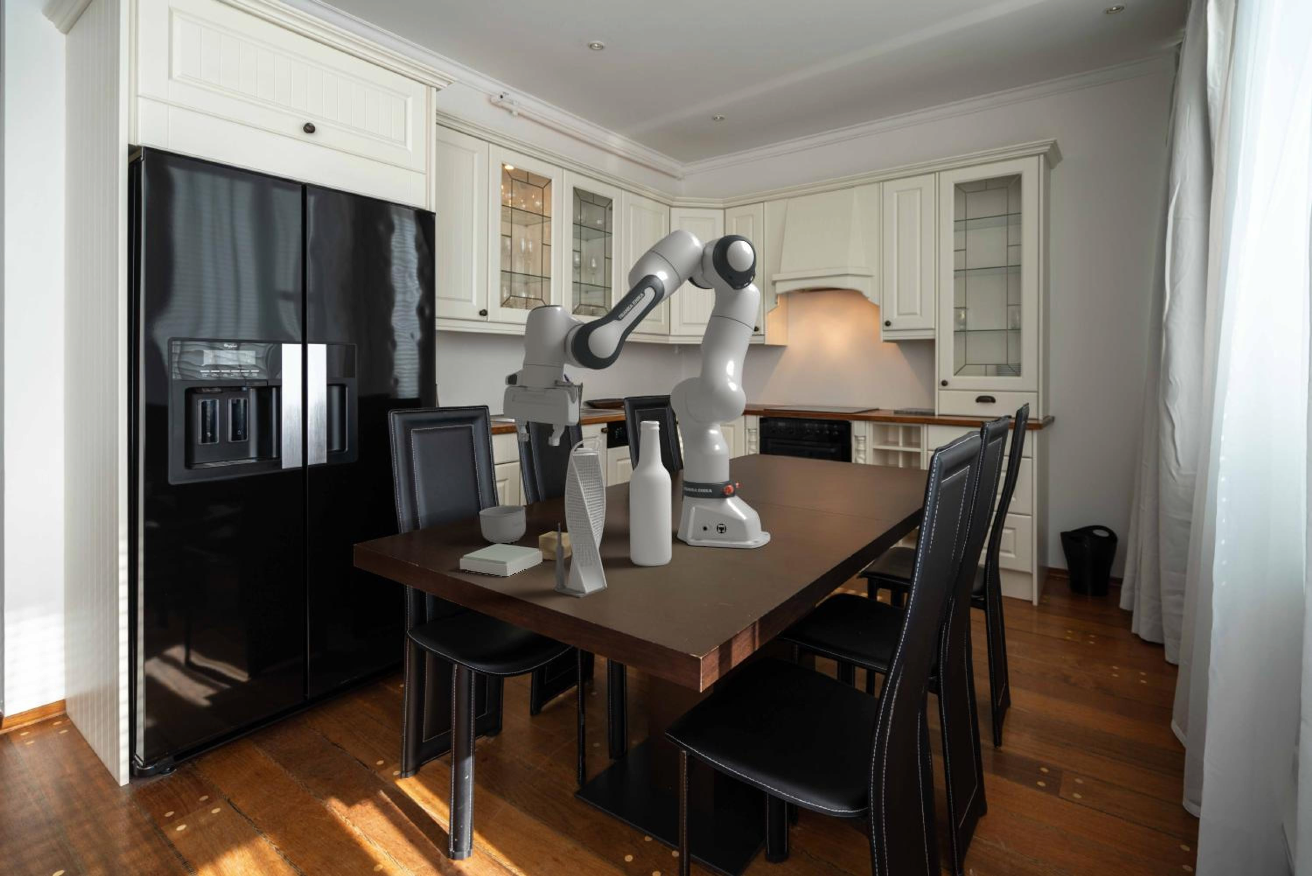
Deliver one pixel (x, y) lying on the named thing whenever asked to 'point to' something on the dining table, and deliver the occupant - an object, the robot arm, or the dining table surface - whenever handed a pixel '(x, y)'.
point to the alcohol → (650, 503)
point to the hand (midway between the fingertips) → (538, 443)
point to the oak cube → (553, 545)
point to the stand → (501, 559)
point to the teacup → (503, 523)
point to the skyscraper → (583, 523)
